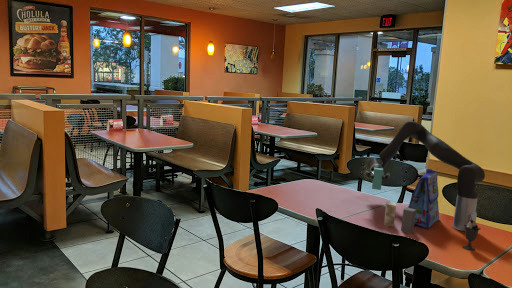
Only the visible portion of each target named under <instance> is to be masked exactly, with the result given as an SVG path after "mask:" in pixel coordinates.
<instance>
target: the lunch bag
mask: <svg viewBox="0 0 512 288" xmlns="http://www.w3.org/2000/svg"><path fill="white" fill-rule="evenodd" d="M425 171H426V172H425V174H423V175H422V176H421V177H420V178H419V180H418V181H417V183H416V185H415V188H414V191H413V193H412V196H411V199H410V201H409V203H408V208H412V209H416V214H415V221H414V225H416V226H419V227H422V228H423V229H425V230H428V229H430V228H431V227H432V226H433V225H434V224H435V223H436V222H437V221H438V220H439V219H440V212H439V200H438V199H439V185H438V184H439V183H438V175H439V174H438V172H437V171H435V170H433V169H431V168H426V170H425Z"/></svg>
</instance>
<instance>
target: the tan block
mask: <svg viewBox="0 0 512 288" xmlns="http://www.w3.org/2000/svg"><path fill="white" fill-rule="evenodd" d="M396 211H397V204H396V202H390V201H388V202H387V201H386V203H385V211H384V219H383V224H384V226H388V227H394V226H395V219H396Z"/></svg>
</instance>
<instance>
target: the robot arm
mask: <svg viewBox="0 0 512 288" xmlns="http://www.w3.org/2000/svg"><path fill="white" fill-rule="evenodd" d="M408 138H412V139H414V140H416V141H418V142H420V143H421V144H423V145H424V147H425V148H426V150H427V151H428V152H429V154H431V155H432V156H433V157H434V158H436V159H437V160H438V161H440V162H442V163H444V164H447V166H451V167H453V168H456V169H458V174H457V179H456V180H457V181H456V191H457V195H456V201H455V207H454V208H455V209H454V215H453V223H452V228H453V229H454V230H458V231H461V232H465V233H466V229H465V227H464V225H467V223H468V222H469V221H470V220H471V217H472V220H473V221H474V222H476V221H477V216H478V213H477V205H478V198H479V192H478V191H477V190H475V189H476V188H475V187H476V185H475V184H477V183H481V182H483V181H484V179H485V177H486V173H485V171H484V169H483V168H482V167H481V166H480V165H478V164H477V163H475V162H473V161H471V160H470V159H468V158H467V157H465V156H463V155H462V154H461V153H460V152H458V151H457V150H456V149H454V148H453V147H451V145H449V144H448V143H447V142H445V141H444V140H442V139H440V138H439V137H437V136H435V135H434V134H433V133H431V132H430V131H429V130H428V129H427V128H426V127H424V125H423V124H421V123H419V122H417V121H414V120H407V121H406V122H405V123H404V124H403V125H402V126H401V128H400V129H399V130H398V132H397V133H396V134H395V136H394V137H393V139H392V140H391V141H390V142H389V143H388V145H387V146H386V147H385V148H384V149H383V150H382V151H380V153H379V155H378V156H379V159H380V160H381V161H380V160H378V158H376V157H371V158H369V159H368V161H367V163H366V166H367V168H368V169H369V170H364V176H366V178H370V179H371V180H373V179H374V167H375V168H383V176H382V181H384V180H389V179H390V176H391V173H390V172H387V173H386V172H385V171H384V170H385V168H386V166H387V165H388V163H389V162H390V161H391V160H392V159H393V158H394V157H395V156H396V155H397V154H398V152H399V150H400V148H401V146H402V144H403V143H404V142H405V141H406V140H407V139H408ZM470 215H471V216H470ZM476 223H477V222H476Z"/></svg>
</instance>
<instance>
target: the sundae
mask: <svg viewBox="0 0 512 288" xmlns="http://www.w3.org/2000/svg"><path fill="white" fill-rule="evenodd" d="M470 216H471V215H470ZM464 227H465V229H466V232H465V239H466V240H467V241H468V244H467V245H463V246H462V248H463V249H465V250H467V251H475V250H476V248H475V247H472V242H474V241H475V240H476V239H477V236H478V234H479V230H481V227H479V226H478V224H477V222H474V221H473V220H472V217H471V220H470V221H469V222H468V223H467V225H464Z"/></svg>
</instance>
